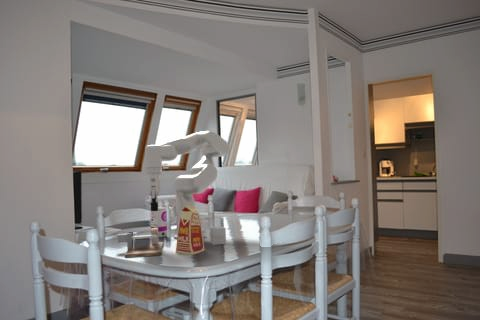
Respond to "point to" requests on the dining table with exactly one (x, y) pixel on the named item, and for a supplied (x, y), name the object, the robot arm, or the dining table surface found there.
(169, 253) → the dining table surface
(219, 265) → the dining table surface
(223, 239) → the skincare box
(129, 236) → the hinge post
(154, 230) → the lug slider
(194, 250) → the milk carton
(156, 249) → the walnut board
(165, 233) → the white product box
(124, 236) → the clamp bar
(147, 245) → the finned block
